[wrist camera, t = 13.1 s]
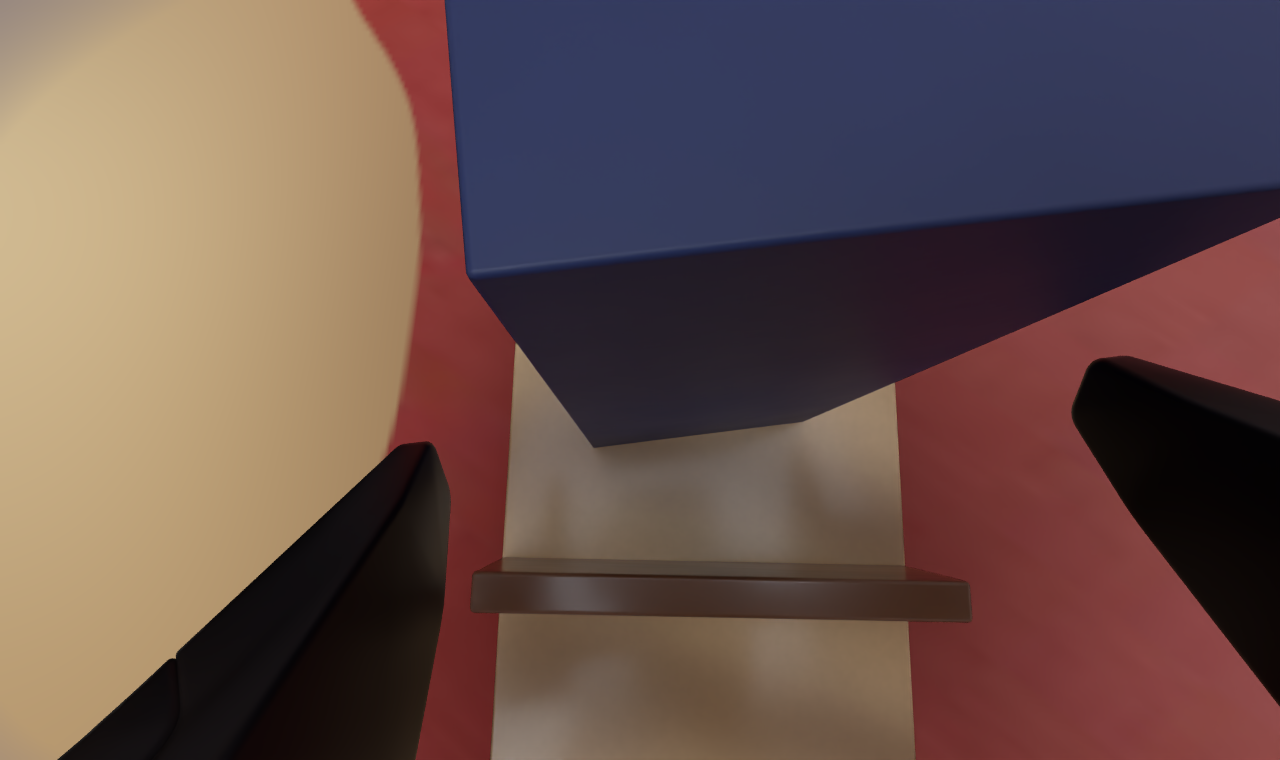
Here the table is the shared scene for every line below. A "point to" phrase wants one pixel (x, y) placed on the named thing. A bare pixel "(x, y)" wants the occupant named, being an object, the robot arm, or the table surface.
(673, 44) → the navy carton
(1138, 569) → the table surface
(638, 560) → the wooden stand
